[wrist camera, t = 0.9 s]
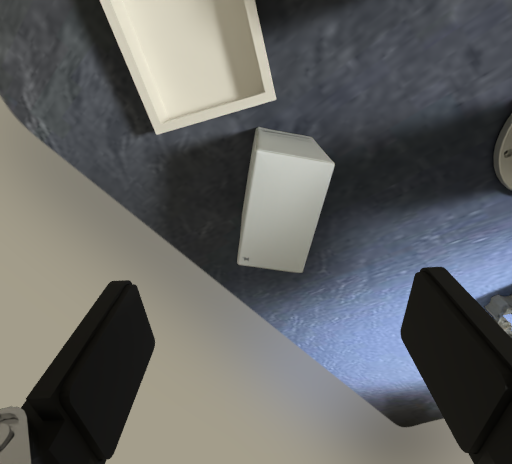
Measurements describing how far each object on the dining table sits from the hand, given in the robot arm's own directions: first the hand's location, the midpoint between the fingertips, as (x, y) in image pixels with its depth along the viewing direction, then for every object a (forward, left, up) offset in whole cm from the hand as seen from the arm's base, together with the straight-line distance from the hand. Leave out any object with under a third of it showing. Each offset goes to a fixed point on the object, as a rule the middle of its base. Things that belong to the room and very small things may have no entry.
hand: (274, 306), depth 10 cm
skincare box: (0, +4, -24) cm, 24 cm away
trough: (+4, -12, -24) cm, 27 cm away
